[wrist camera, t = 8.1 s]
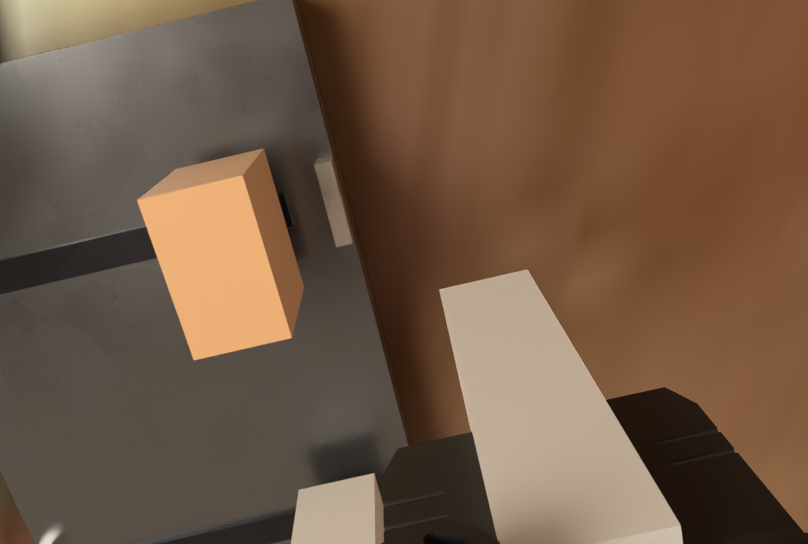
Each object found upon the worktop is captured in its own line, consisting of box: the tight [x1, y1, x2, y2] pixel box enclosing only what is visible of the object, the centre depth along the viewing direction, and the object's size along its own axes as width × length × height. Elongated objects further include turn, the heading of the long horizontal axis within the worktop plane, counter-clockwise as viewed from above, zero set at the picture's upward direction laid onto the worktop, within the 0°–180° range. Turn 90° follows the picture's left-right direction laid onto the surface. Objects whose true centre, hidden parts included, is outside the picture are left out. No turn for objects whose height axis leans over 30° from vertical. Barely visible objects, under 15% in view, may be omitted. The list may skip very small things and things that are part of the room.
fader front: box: [137, 148, 304, 360], centre depth 24 cm, size 3×5×5 cm, turn 13°
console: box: [0, 0, 412, 544], centre depth 29 cm, size 16×26×3 cm, turn 13°
